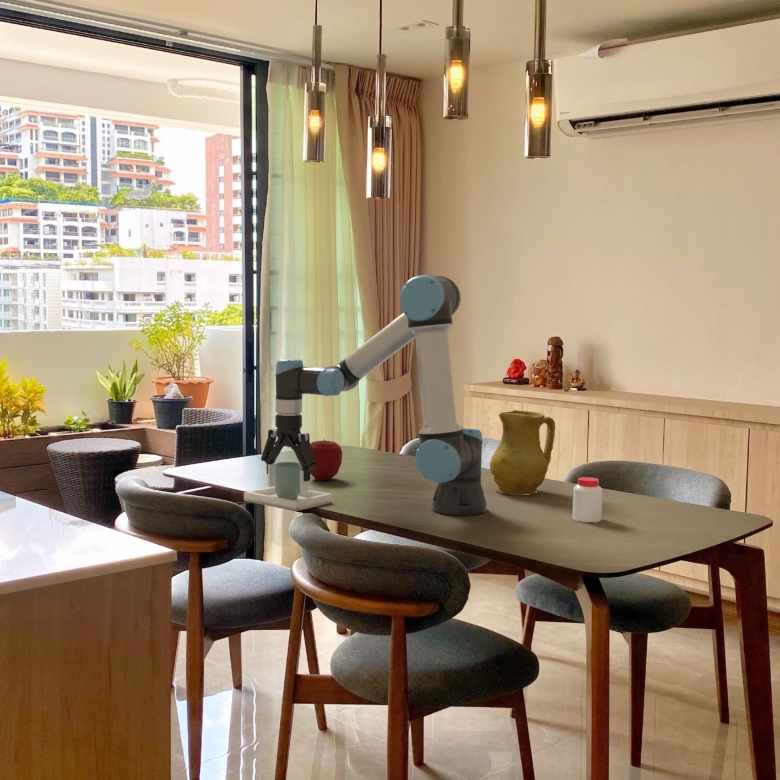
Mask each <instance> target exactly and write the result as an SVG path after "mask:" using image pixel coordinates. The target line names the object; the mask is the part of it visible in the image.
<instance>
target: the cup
mask: <svg viewBox="0 0 780 780" xmlns="http://www.w3.org/2000/svg"><path fill="white" fill-rule="evenodd" d="M301 469H302V466H301V464H300V462H297V461H296V462H295V461H294V462H293V461H282V462H281V461H280V462H275V469H274V483H275V492H276V495H277V497H280V498H285V499H290V500H294V499H296V498H298V497H299V495H300V470H301Z"/></svg>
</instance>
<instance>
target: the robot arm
mask: <svg viewBox="0 0 780 780" xmlns="http://www.w3.org/2000/svg"><path fill="white" fill-rule="evenodd" d="M461 297H462V295H461V292H460V289H459V287H458V285H457V284H456V282H455V281H453V279H450V278H448V277H446V276H441V275H430V274H423V275H417V276H415V277H412V278H411V279H408V280H407V282H406V283H405V284H404V285H403V286H402V288H401V290H400V294H399V306H400V309H401V311H402V313H401V314H400V315H398V316H397V317H396V318H394V319H393V320H392V321H391V322H390V323H389V324H388V325H386V326H385V327H384V328H383V327H382V329H381V330H380V331H378V332H377V333H376V334H374V335H373V336H372V337H371V338H369V339H368V340H367V341H365V342H364V343H362V345H360V346H359V347H358V348H357V349H355V350H354V351H352V353H350V354H349V355H347V356H346V357H345V358H344V359H342V360H341V361H340V362H339V363H337V364H336V365H331V366H324V367H309V366H304V363H303V360H302V359H299V358H298V359H297V358H280V359H278V360H276V366H275V374H274V375H275V406H274V407H275V410H274V411H275V413H276V414H275V416H274V418H275V420H274V421H275V423H274V425H275V427H276V428H273V429H272V428H271V429H268V431H267V439H266V442H265V444H264V448H263V451H262V453H261V458H260V460H261V462H265V464H266V475H267V487H274V486H275V483H274V469H275V464H276V460H277V458H278V457H279V455H280V454H281V452H282V450H283V448H284V447H287V448H290V449H291V450H292V451H293V452H294V454H295V456H296V458H297V461H298V463H300V464H301V466H302V469H301V470H300V493H306V492H309V490H310V489H309V488H310V487H309V485H310V482H311V474H310V470H311V469H312V468H316V462H315V458H314V455H313V452H312V448H311V445H310V444H311V442H310V441H311V440H310V437H311V436H310V434H309V433H301V429H302V426H303V415H302V414H301V413H302V412H303V395H316V396H317V395H318V396H325V397H329V396H339V395H340V394H341V392H348V391H351V390H352V389H353V390H354V389H355V388H356V387H357V386H358V384H359V383H360V381H361V379H363V378H364V377H365V376H367V375H368V374H370V373H371V372H372V371H374V370H375V369H377V368H378V367H379V366H380V365H381V364H383V363H384V362H386V360H388V359H390V358H391V357H392V356H394V355H395V354H396V353H397V352H399V351H400V350H401V349H403V348H404V347H406V345H408V344H409V343H410V342H412V341H413V340H415V347H416V358H417V359H416V360H417V369H418V378H419V389H420V390H419V391H420V400H421V411H422V419H423V426H422V427H421V428H420V429H419V431H418V437H419V438H418V439H419V446H418V448H417V450H416V452H415V461H414V462H415V466H416V468H417V470H418V472H419V474H420V475H422V477H424V479H426V480H427V481H430V482H433V483H437V485H436V488H435V491H434V494H433V496H432V497H433V498H432V501H431V509H432V511H434V512H436V513H439V514H443V515H452V516H475V515H480V514H484V513H486V512H487V501H486V497H485V494H484V490H483V487H482V483H481V482H482V481H481V480H482V477H481V476H482V453H483V451H482V450H483V449H482V448H483V444H484V443H483V433H482V432H481V430H480V429H477V428H466V427H465V428H464V427H462V426H461V424H459V423H458V422H457V417H456V408H455V407H456V406H455V397H454V396H455V395H454V387H453V385H454V384H453V376H452V366H451V365H452V364H451V355H450V354H451V353H450V346H449V344H450V343H449V335H448V332H449V330H450V329H451V328H452V326H453V315H455V313H456V312H457V311H458V309H459V307H460V303H461Z"/></svg>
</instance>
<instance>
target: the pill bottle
mask: <svg viewBox="0 0 780 780" xmlns="http://www.w3.org/2000/svg"><path fill="white" fill-rule="evenodd" d="M599 484H600V481H599V478H595V477H589V476H587V477H584V476H583V477H578V479H577V484H576V485H575V486H574V487H573V488H572V489H573V490H572V491H573V493H572V514H571V515H572V516H571V518H572V520H573V519H574V521H575V520H576V522H579V521H581V522H580V523H588V522H593V523H599V521H600V522H601V521H602V511H603V491H604V489H603V488H602V487H601V486H600V485H599Z"/></svg>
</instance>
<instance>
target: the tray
mask: <svg viewBox="0 0 780 780" xmlns="http://www.w3.org/2000/svg"><path fill="white" fill-rule="evenodd" d="M243 502H248V503H254V504H257V505H258V504H259V505H263V506H268V507H272V508H278V509H283V510H288V511H294V512H298V511H299V512H300V511H302V510H307V509H311V508H315V507H320V506H325V505H328V504H332V503H333V494H332V493H328V492H321V491H317V490H312V489H309V492H306V493H300V495H299V497H298V498H296V499H294V500H290V499H285V498H280V497H277V495H276V492H275V486H274V487H268V486H267V487H263V488H258V489H252V490H248V491H244V492H243Z"/></svg>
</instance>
